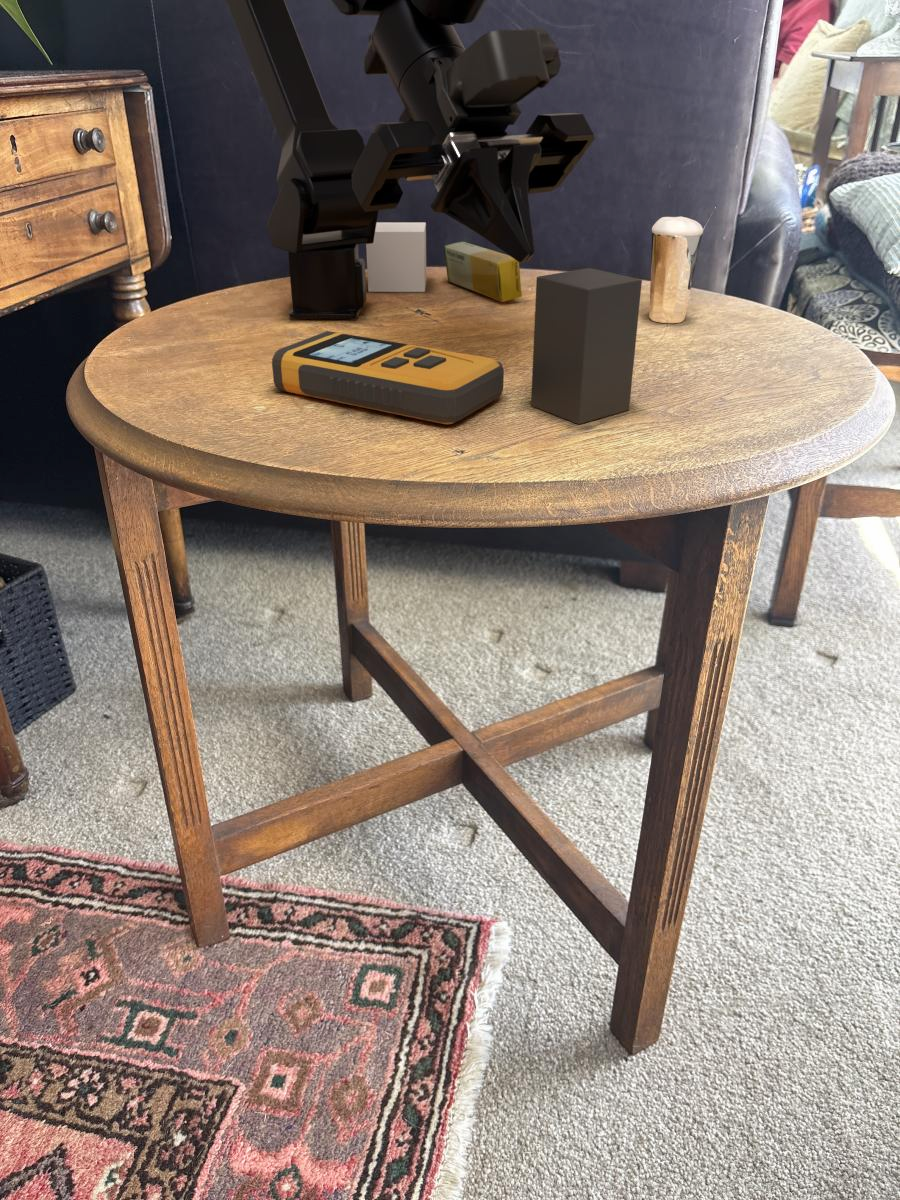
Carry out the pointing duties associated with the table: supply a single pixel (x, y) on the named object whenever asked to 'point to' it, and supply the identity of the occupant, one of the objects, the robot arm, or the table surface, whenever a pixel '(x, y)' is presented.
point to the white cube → (397, 257)
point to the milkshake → (673, 266)
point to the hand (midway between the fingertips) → (527, 258)
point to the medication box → (483, 271)
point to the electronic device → (388, 376)
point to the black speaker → (584, 343)
